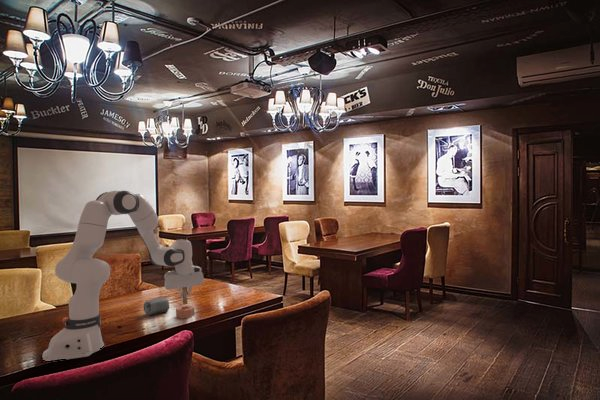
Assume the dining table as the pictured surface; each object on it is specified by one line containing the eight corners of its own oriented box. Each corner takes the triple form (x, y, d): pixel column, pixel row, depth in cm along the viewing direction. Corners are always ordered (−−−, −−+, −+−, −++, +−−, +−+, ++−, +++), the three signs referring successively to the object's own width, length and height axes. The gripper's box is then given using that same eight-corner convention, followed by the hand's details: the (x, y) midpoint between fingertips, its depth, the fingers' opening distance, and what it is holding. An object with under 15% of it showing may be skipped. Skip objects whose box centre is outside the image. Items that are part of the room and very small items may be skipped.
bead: (179, 319, 205) (179, 311, 205) (174, 314, 212) (174, 307, 212) (196, 315, 209) (195, 308, 209) (191, 311, 217) (191, 304, 217)
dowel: (183, 304, 209) (182, 286, 209) (182, 303, 211) (181, 285, 211) (188, 303, 210) (187, 285, 210) (186, 302, 213) (186, 284, 212)
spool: (146, 312, 206) (147, 293, 211) (140, 317, 212) (141, 298, 217) (172, 313, 214) (172, 295, 219) (165, 318, 220) (166, 300, 225)
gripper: (165, 273, 202) (166, 299, 203) (204, 268, 213) (205, 293, 213) (162, 270, 207) (163, 297, 208) (200, 266, 218) (201, 291, 219)
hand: (184, 295), depth 211 cm, fingers closed on dowel, 2 cm apart
